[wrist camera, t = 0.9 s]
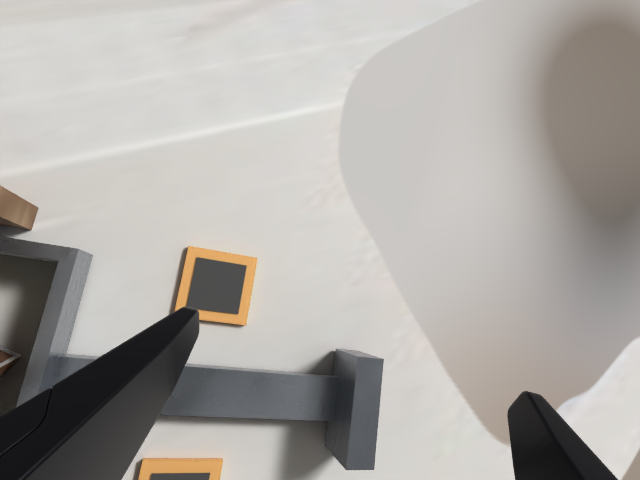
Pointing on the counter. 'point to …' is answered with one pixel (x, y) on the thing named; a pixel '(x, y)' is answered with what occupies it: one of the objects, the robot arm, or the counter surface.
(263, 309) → the counter surface
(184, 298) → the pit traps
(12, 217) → the tunnel
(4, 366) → the food container
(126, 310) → the counter surface
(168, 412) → the long grey tray
